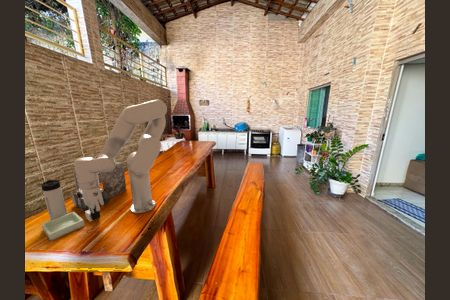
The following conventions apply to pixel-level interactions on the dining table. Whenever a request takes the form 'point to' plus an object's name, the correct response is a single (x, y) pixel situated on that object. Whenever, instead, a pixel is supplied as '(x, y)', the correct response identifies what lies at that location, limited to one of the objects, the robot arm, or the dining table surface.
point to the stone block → (114, 180)
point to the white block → (88, 215)
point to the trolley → (78, 197)
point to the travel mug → (54, 199)
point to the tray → (62, 225)
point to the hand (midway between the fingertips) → (96, 218)
